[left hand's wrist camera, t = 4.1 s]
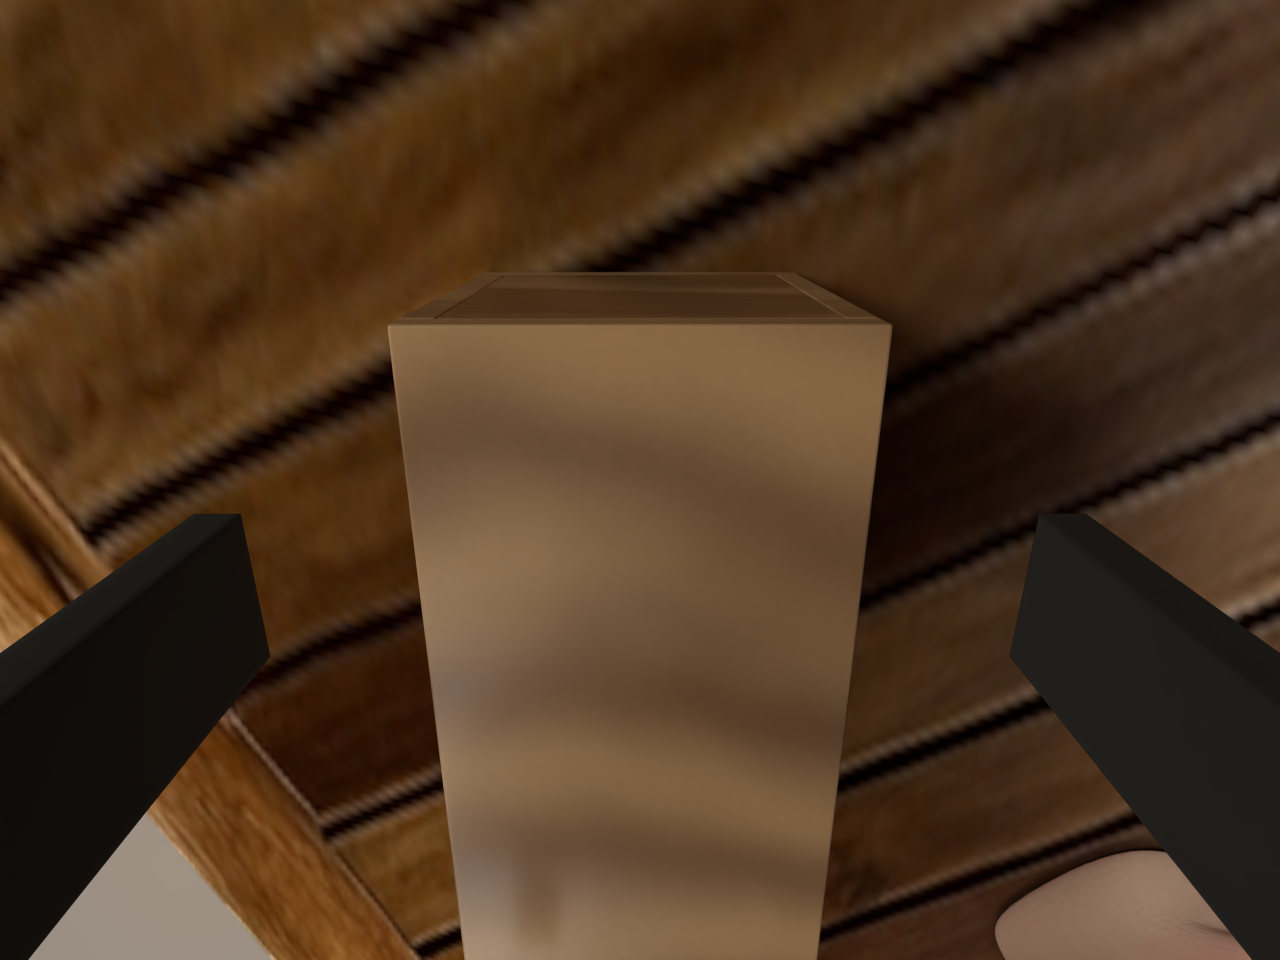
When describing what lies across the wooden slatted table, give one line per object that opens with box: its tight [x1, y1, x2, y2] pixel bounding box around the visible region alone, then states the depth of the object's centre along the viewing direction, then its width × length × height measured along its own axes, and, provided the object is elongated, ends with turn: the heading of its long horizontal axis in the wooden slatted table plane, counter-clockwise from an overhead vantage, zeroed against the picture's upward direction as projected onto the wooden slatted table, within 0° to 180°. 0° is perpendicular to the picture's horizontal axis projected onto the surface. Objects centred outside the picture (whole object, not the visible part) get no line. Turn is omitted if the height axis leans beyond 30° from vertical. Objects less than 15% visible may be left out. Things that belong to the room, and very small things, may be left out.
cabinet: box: [388, 272, 893, 960], centre depth 24 cm, size 20×11×11 cm, turn 0°
